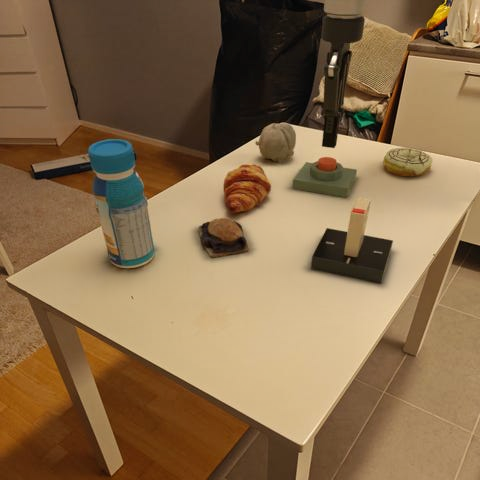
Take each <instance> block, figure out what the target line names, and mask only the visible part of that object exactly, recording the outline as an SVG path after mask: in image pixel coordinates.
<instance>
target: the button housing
mask: <svg viewBox="0 0 480 480" xmlns="http://www.w3.org/2000/svg"><path fill="white" fill-rule="evenodd" d="M317 166H318V160H317V161H314V162H308V161H305V163H304V164H303V165H302V167H301V168H300V170H298V173H296V175H295V177H294V178H293V179H292V189H293V190H299V191H304V192H310V193H317V194H322V195H329V196H335V197H341V198H347V197H348V194H349V193H350V191H351V189H352V187H353V185H354V183H355V181H356V178H357V172H358V169H356V168H348V167H344V166H343V165H342V164H341V163H340V162H336V169H335V170H333V171H323V170H319V169H318V168H317Z"/></svg>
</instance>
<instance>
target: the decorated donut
mask: <svg viewBox="0 0 480 480" xmlns="http://www.w3.org/2000/svg"><path fill="white" fill-rule="evenodd" d="M432 164H433V158H432V156H431V155H429V154H427V153H426V152H423V151H422V150H419V149H414V148H409V147H397V148H392V149H390V150H387V151H386V153H385V155H384V157H383V165H384V167H385V169H386V170H387V171H388V172H389V173H393V174H395V175H397V176H402V177H416V176H418V177H420V176H423V175H425V174H427V173H428V172H429V171H430V170H431V167H432Z"/></svg>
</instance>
